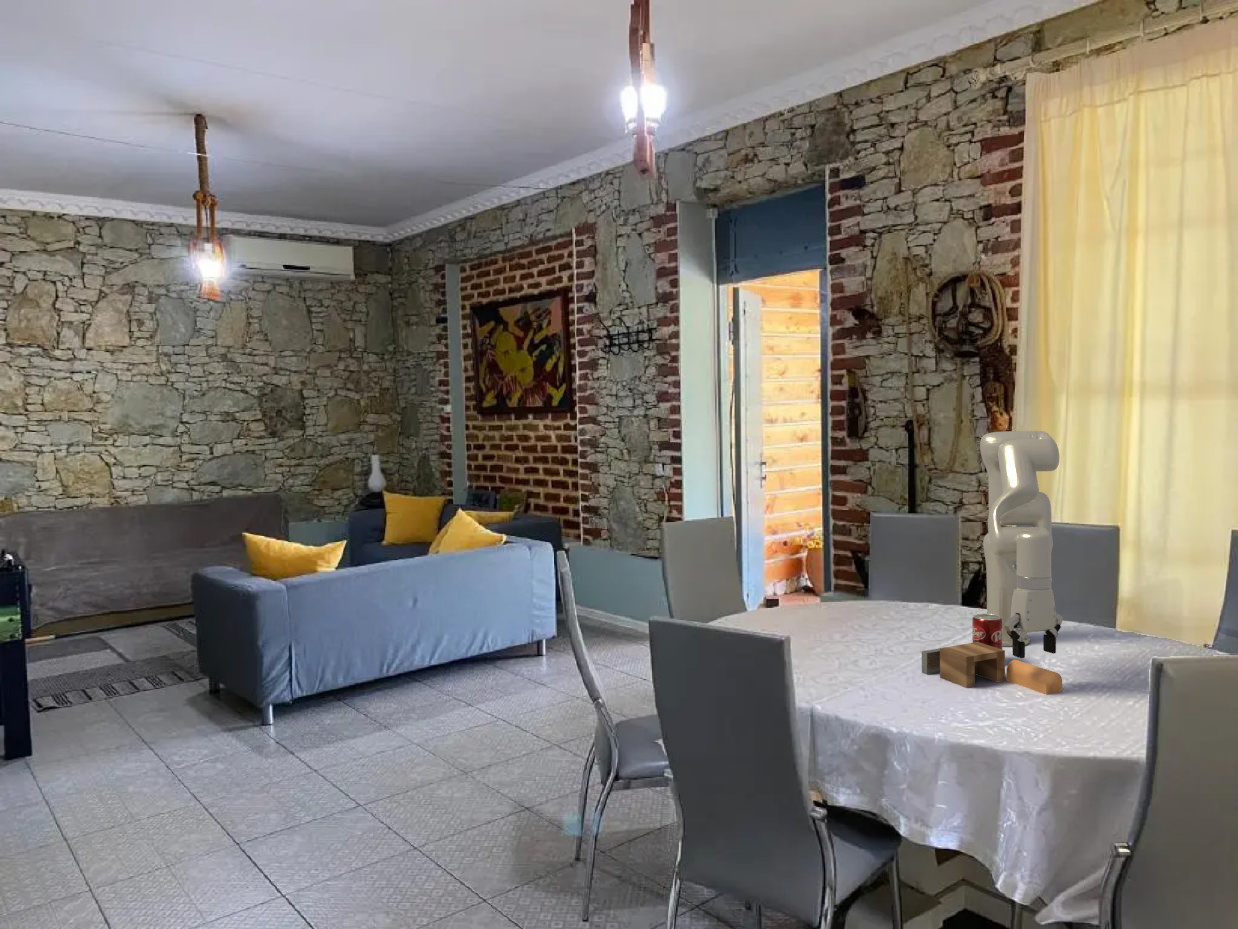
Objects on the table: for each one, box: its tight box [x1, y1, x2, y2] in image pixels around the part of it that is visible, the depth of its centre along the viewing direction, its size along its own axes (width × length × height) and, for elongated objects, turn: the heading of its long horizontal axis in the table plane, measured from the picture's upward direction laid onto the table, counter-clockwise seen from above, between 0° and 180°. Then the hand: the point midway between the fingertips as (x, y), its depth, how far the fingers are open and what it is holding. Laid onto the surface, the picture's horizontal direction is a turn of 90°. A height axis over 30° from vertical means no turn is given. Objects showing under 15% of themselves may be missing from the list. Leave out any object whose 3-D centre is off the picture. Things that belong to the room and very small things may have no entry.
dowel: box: [1006, 659, 1063, 696], centre depth 218 cm, size 12×5×5 cm, turn 22°
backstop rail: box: [921, 647, 941, 676], centre depth 233 cm, size 14×2×6 cm, turn 112°
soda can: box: [971, 613, 1003, 650], centre depth 238 cm, size 7×7×12 cm
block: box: [939, 642, 1006, 689], centre depth 224 cm, size 12×9×8 cm
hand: (1034, 654), depth 217 cm, fingers open, 9 cm apart
